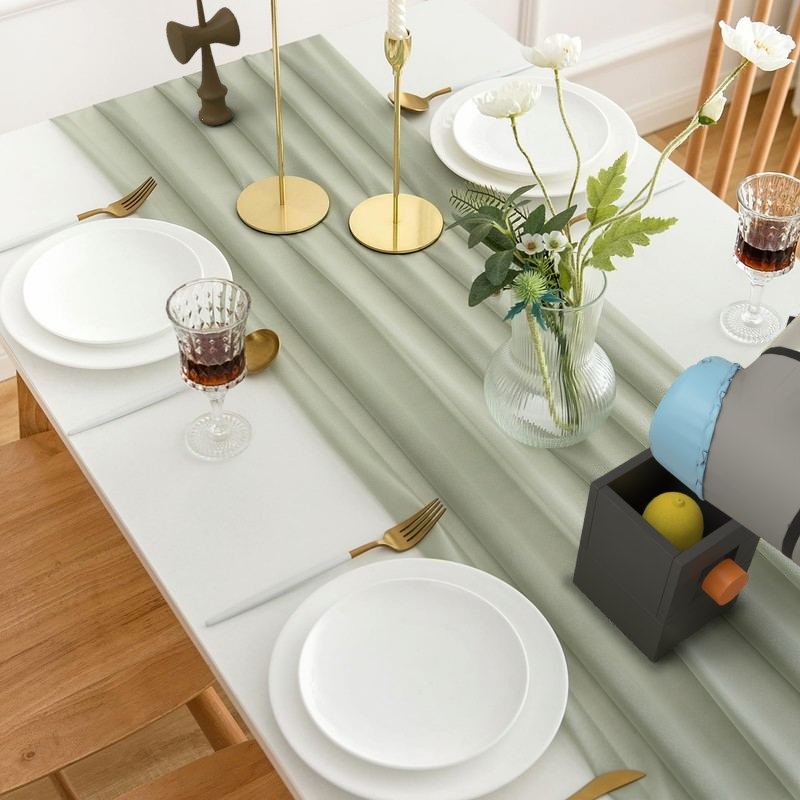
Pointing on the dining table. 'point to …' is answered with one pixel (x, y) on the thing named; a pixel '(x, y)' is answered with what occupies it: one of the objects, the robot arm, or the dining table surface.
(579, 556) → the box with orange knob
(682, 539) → the lemon
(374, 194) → the dining table surface
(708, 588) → the power button
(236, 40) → the kendama
